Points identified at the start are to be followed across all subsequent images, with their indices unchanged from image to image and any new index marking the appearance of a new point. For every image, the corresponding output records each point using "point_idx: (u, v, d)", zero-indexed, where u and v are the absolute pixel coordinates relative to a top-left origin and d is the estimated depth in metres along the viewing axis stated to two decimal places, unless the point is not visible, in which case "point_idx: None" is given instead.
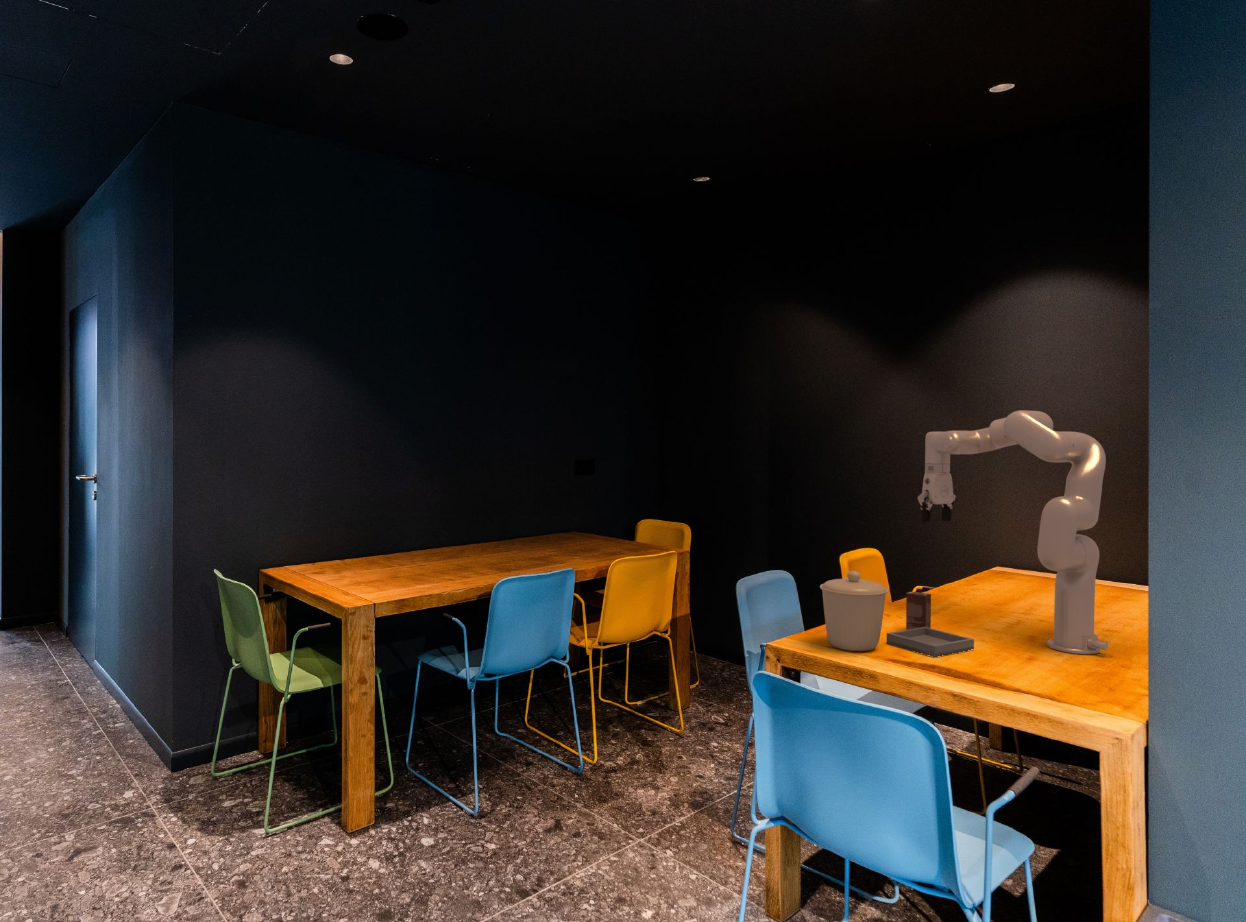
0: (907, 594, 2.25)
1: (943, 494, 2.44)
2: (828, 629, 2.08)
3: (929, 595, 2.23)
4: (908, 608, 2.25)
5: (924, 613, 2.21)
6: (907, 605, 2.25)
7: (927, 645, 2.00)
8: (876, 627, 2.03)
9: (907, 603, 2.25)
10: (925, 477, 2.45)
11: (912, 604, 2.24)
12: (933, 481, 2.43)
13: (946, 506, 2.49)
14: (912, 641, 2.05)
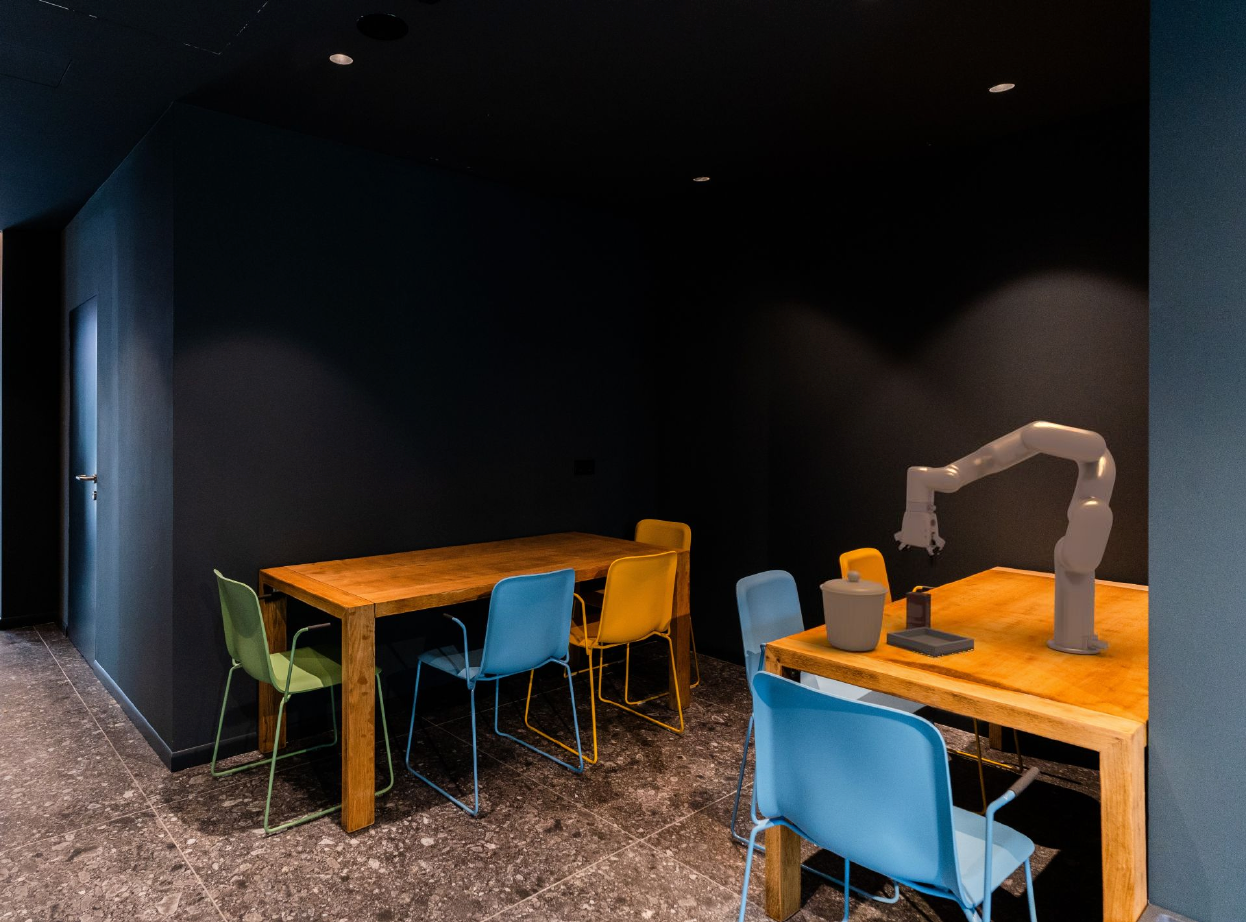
0: (907, 594, 2.25)
1: None
2: (828, 629, 2.08)
3: (929, 595, 2.23)
4: (908, 608, 2.25)
5: (924, 613, 2.21)
6: (907, 605, 2.25)
7: (927, 645, 2.00)
8: (876, 627, 2.03)
9: (907, 603, 2.25)
10: (930, 518, 2.20)
11: (912, 604, 2.24)
12: None
13: (905, 547, 2.29)
14: (912, 641, 2.05)
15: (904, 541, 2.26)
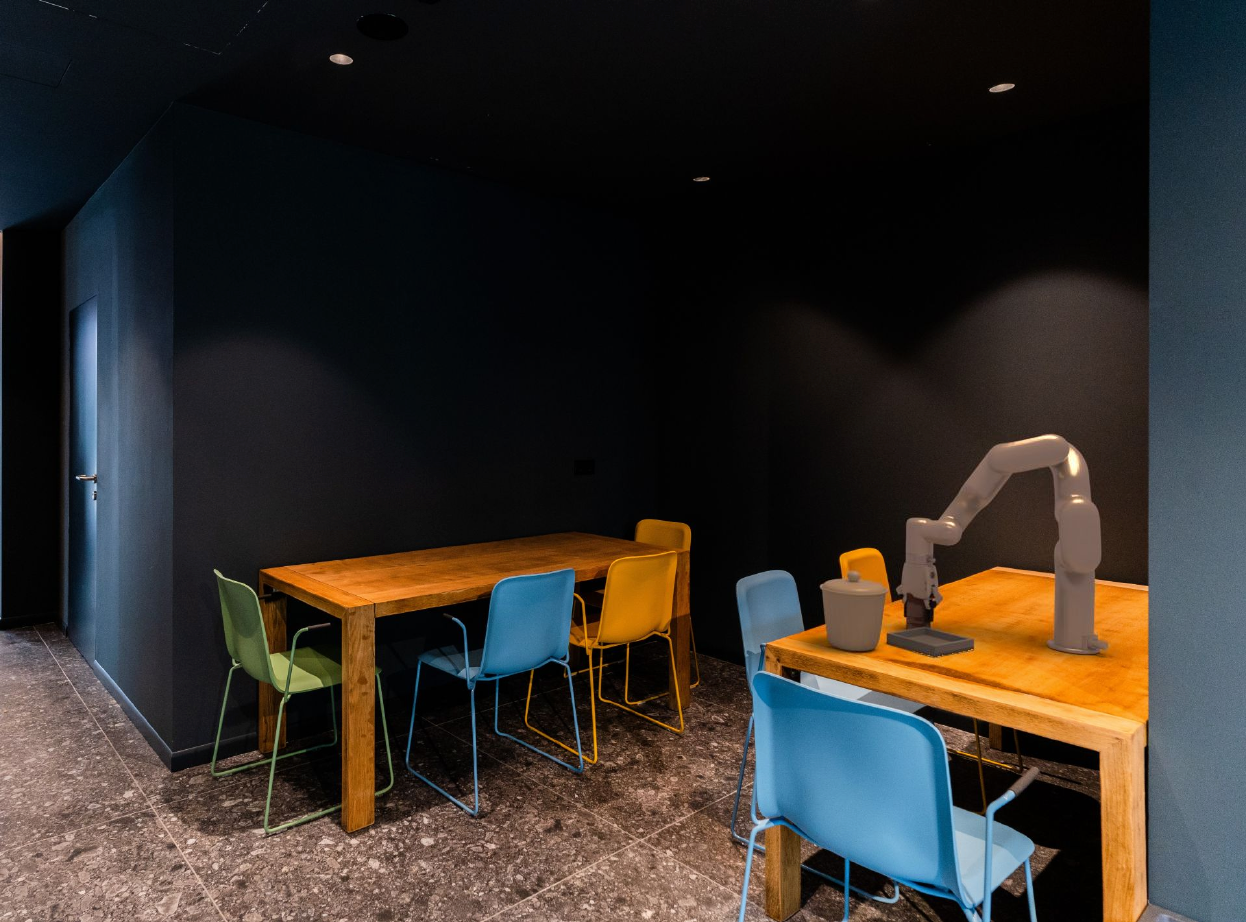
0: (907, 594, 2.25)
1: None
2: (828, 629, 2.08)
3: None
4: (908, 608, 2.25)
5: (924, 613, 2.21)
6: (907, 605, 2.25)
7: (927, 645, 2.00)
8: (876, 627, 2.03)
9: (907, 603, 2.25)
10: (929, 571, 2.20)
11: (912, 604, 2.24)
12: (936, 574, 2.21)
13: None
14: (912, 641, 2.05)
15: (904, 592, 2.26)
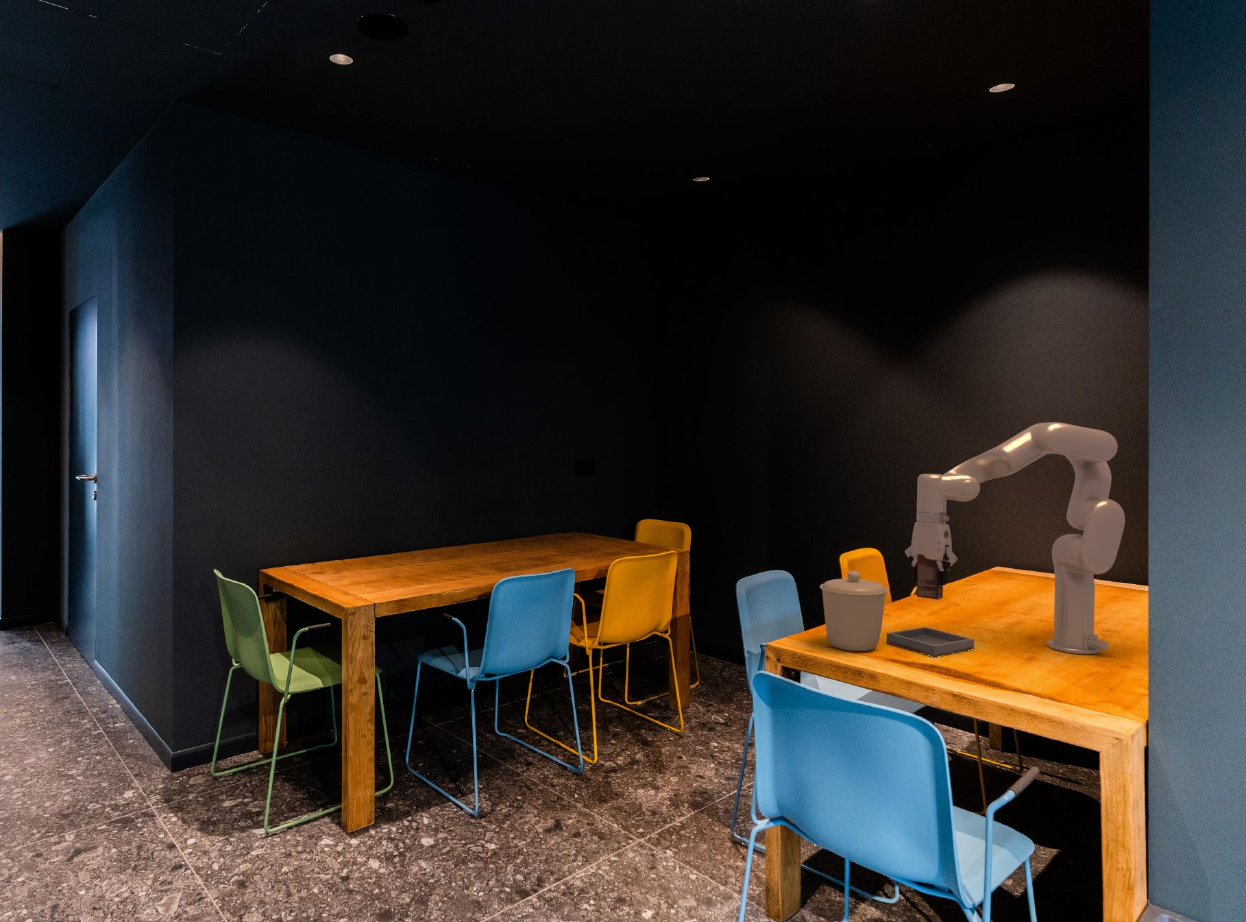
0: (918, 556, 2.09)
1: None
2: (828, 629, 2.08)
3: None
4: (919, 571, 2.09)
5: None
6: (918, 567, 2.09)
7: (927, 645, 2.00)
8: (876, 627, 2.03)
9: (918, 565, 2.09)
10: (943, 529, 2.04)
11: (924, 566, 2.08)
12: None
13: None
14: (912, 641, 2.05)
15: (914, 554, 2.11)
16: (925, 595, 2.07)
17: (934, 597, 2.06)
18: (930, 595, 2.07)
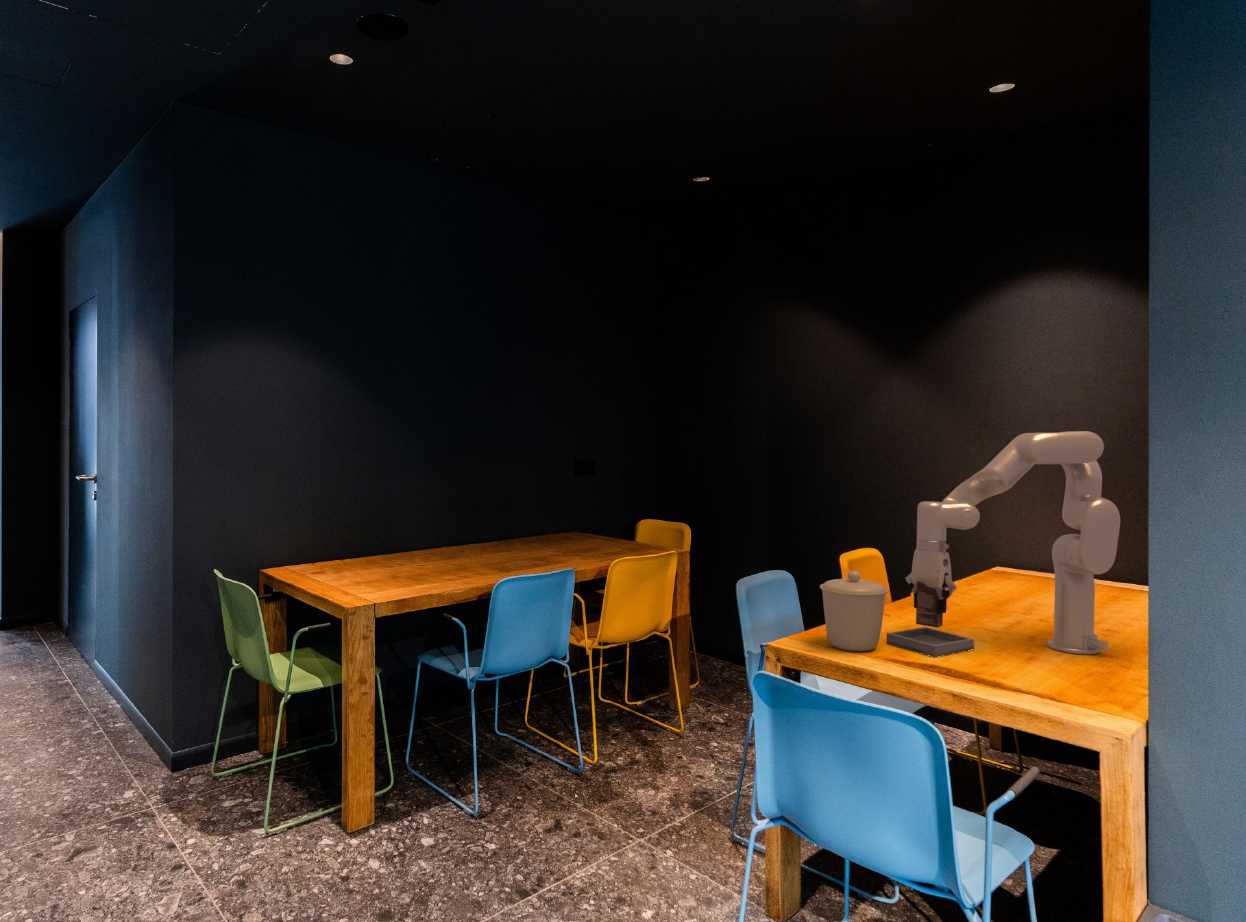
0: (917, 583, 2.09)
1: None
2: (828, 629, 2.08)
3: None
4: (918, 598, 2.09)
5: (936, 603, 2.06)
6: (917, 595, 2.09)
7: (927, 645, 2.00)
8: (876, 627, 2.03)
9: (917, 593, 2.09)
10: (942, 558, 2.04)
11: (923, 593, 2.08)
12: None
13: None
14: (912, 641, 2.05)
15: (914, 581, 2.11)
16: (924, 622, 2.08)
17: (933, 625, 2.06)
18: (929, 622, 2.07)
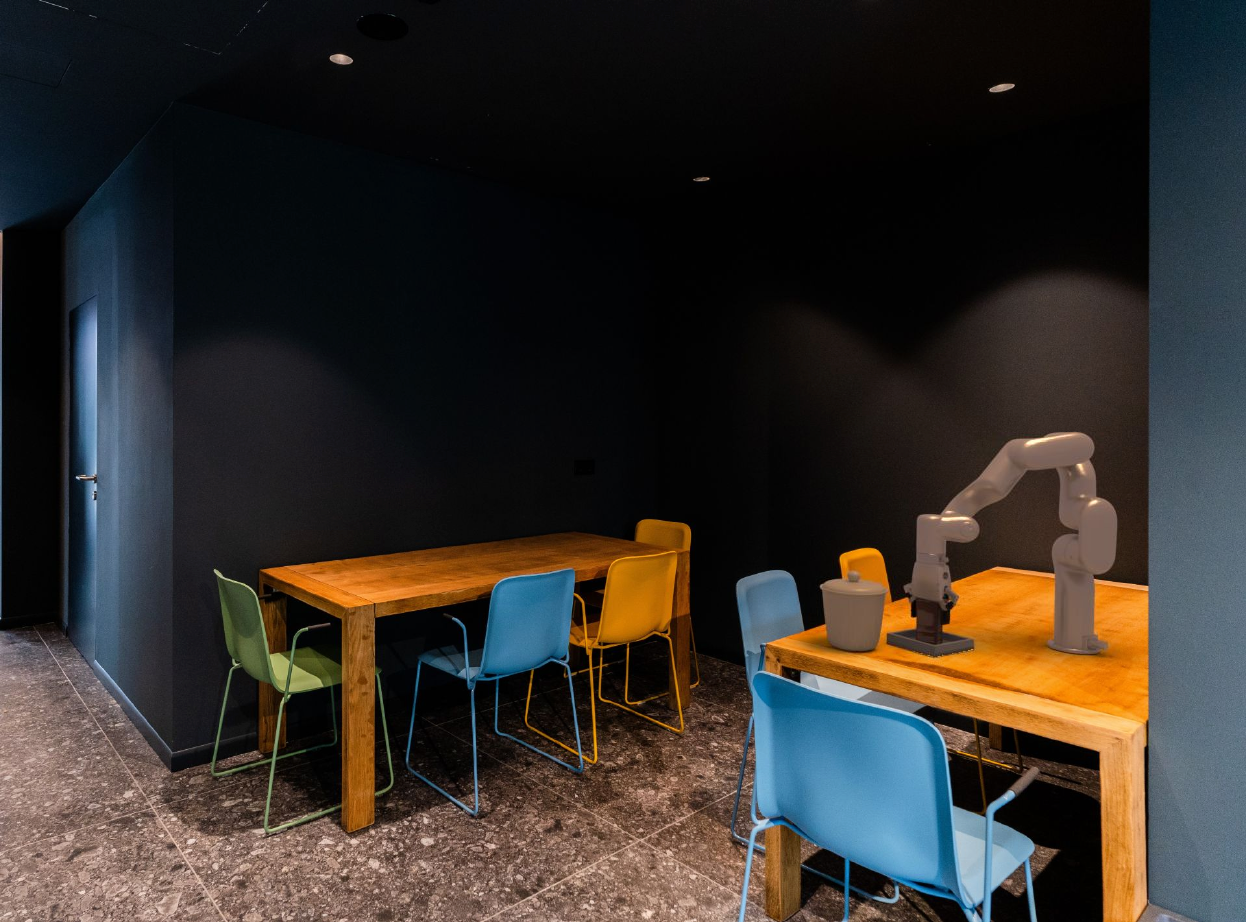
0: (917, 601, 2.10)
1: None
2: (828, 629, 2.08)
3: None
4: (918, 616, 2.09)
5: (935, 621, 2.06)
6: (917, 613, 2.10)
7: (927, 645, 2.00)
8: (876, 627, 2.03)
9: (917, 610, 2.10)
10: (942, 571, 2.04)
11: (923, 611, 2.09)
12: (949, 574, 2.06)
13: (915, 600, 2.13)
14: (912, 641, 2.05)
15: (914, 594, 2.11)
16: (924, 640, 2.08)
17: (933, 643, 2.06)
18: (929, 640, 2.07)
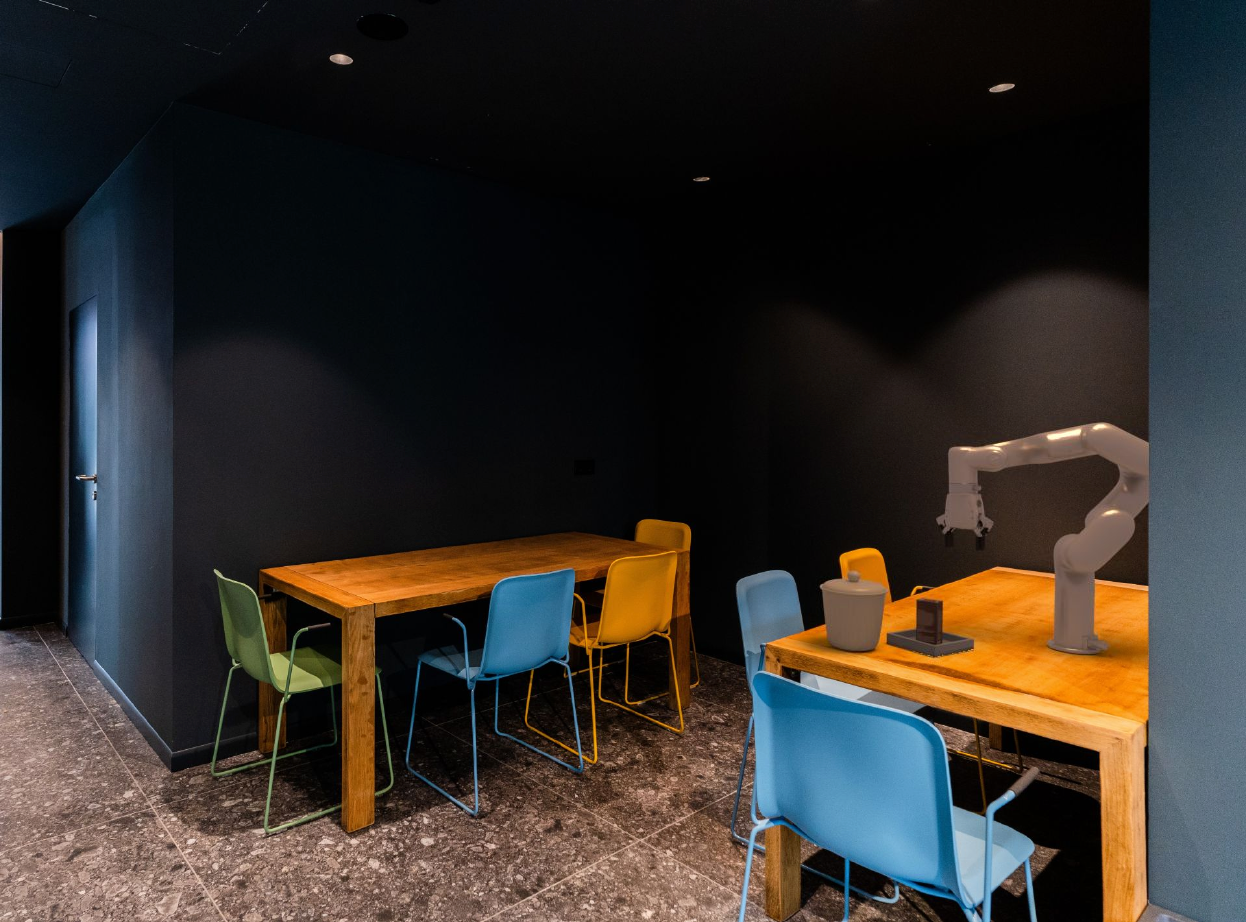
0: (917, 601, 2.10)
1: None
2: (828, 629, 2.08)
3: (941, 602, 2.08)
4: (918, 616, 2.09)
5: (935, 621, 2.06)
6: (917, 613, 2.10)
7: (927, 645, 2.00)
8: (876, 627, 2.03)
9: (917, 610, 2.10)
10: (975, 499, 2.13)
11: (923, 611, 2.09)
12: (982, 502, 2.14)
13: (948, 530, 2.21)
14: (912, 641, 2.05)
15: (948, 524, 2.19)
16: (924, 640, 2.08)
17: (933, 643, 2.06)
18: (929, 640, 2.07)
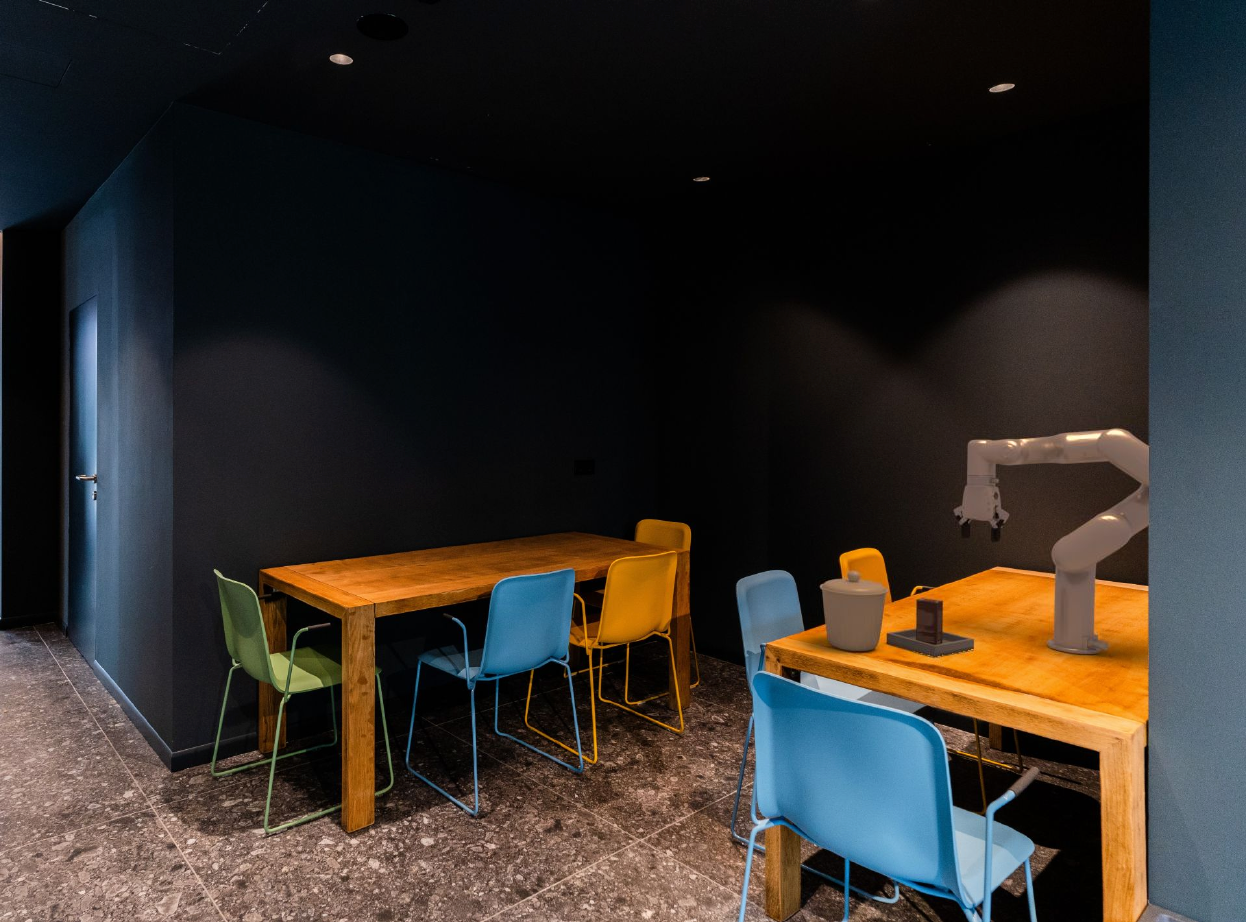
0: (917, 601, 2.10)
1: None
2: (828, 629, 2.08)
3: (941, 602, 2.08)
4: (918, 616, 2.09)
5: (935, 621, 2.06)
6: (917, 613, 2.10)
7: (927, 645, 2.00)
8: (876, 627, 2.03)
9: (917, 610, 2.10)
10: (992, 491, 2.18)
11: (923, 611, 2.09)
12: (999, 495, 2.19)
13: (965, 522, 2.26)
14: (912, 641, 2.05)
15: (965, 515, 2.24)
16: (924, 640, 2.08)
17: (933, 643, 2.06)
18: (929, 640, 2.07)
